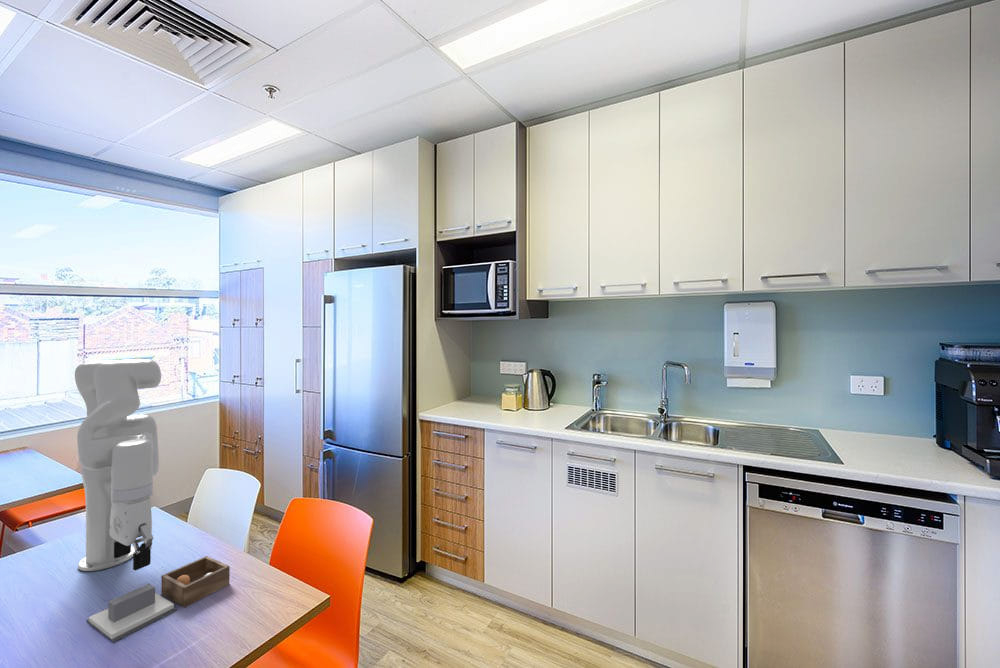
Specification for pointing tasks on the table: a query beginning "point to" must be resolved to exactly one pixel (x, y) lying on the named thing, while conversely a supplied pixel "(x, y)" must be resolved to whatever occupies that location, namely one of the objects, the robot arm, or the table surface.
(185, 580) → the orange ball
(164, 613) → the mat
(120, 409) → the robot arm
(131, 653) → the table surface
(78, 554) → the table surface
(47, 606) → the table surface
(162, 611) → the lid
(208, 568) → the box
